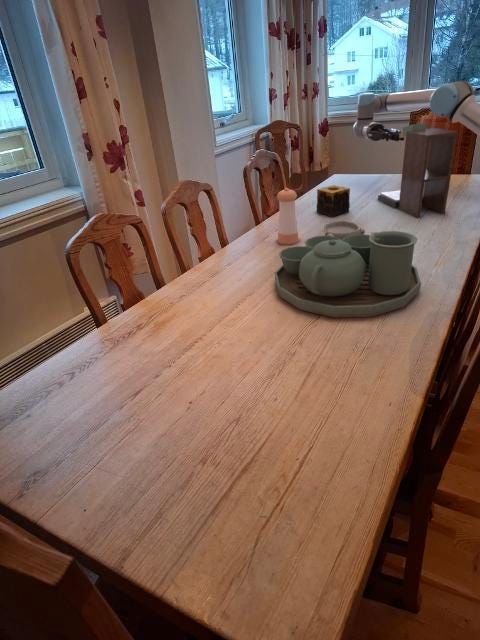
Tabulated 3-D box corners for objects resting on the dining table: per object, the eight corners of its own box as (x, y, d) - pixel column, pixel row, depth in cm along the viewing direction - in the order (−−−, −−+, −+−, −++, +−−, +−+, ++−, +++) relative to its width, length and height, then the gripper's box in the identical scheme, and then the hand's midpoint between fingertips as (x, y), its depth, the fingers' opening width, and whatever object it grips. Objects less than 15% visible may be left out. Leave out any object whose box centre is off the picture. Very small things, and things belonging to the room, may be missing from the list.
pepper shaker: (302, 239, 158) (301, 186, 148) (289, 245, 153) (288, 191, 144) (286, 236, 162) (284, 184, 153) (274, 242, 158) (271, 189, 148)
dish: (330, 249, 148) (330, 235, 145) (315, 236, 159) (315, 223, 157) (369, 242, 150) (370, 228, 147) (352, 230, 161) (353, 217, 159)
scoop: (426, 132, 167) (426, 123, 166) (412, 134, 166) (412, 124, 165) (398, 139, 187) (397, 130, 186) (385, 140, 186) (385, 131, 185)
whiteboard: (425, 203, 183) (426, 196, 181) (395, 208, 181) (396, 200, 179) (406, 195, 196) (406, 188, 194) (377, 199, 194) (378, 192, 192)
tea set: (409, 258, 135) (415, 206, 127) (427, 323, 102) (437, 259, 94) (284, 257, 144) (282, 209, 136) (263, 317, 111) (259, 257, 103)
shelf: (444, 213, 170) (457, 131, 155) (417, 217, 168) (427, 135, 153) (424, 204, 182) (434, 127, 167) (398, 208, 180) (406, 131, 165)
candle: (331, 217, 177) (332, 193, 172) (315, 212, 185) (315, 189, 180) (349, 212, 182) (351, 188, 177) (333, 207, 189) (334, 184, 184)
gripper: (387, 138, 203) (415, 144, 183) (358, 142, 200) (383, 149, 180) (389, 121, 199) (417, 125, 179) (359, 124, 197) (385, 129, 177)
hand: (400, 137), depth 180 cm, fingers closed on scoop, 2 cm apart
